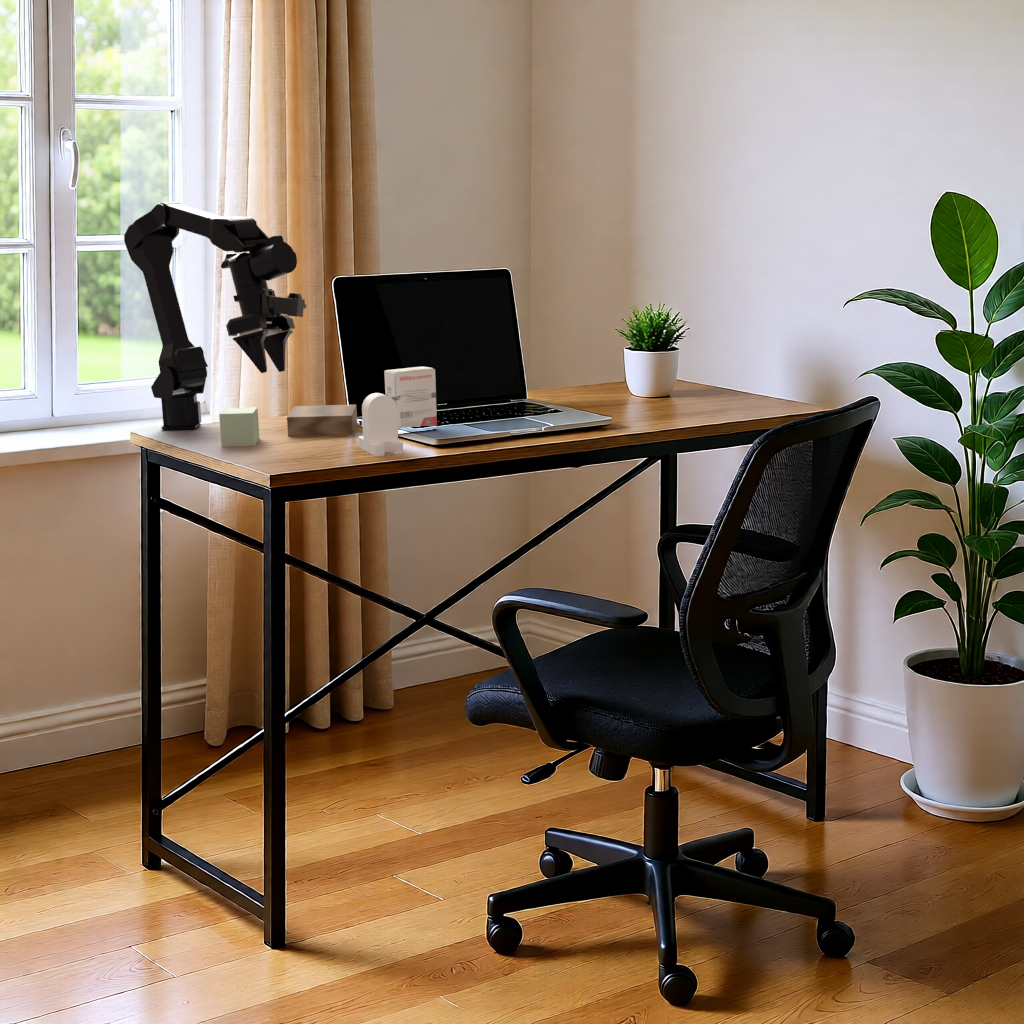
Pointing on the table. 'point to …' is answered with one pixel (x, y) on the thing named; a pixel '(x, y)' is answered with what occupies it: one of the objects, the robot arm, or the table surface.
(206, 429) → the table surface
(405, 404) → the ink box
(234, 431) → the sage cube
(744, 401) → the table surface
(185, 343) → the robot arm
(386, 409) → the white rounded upright block
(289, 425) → the walnut block
